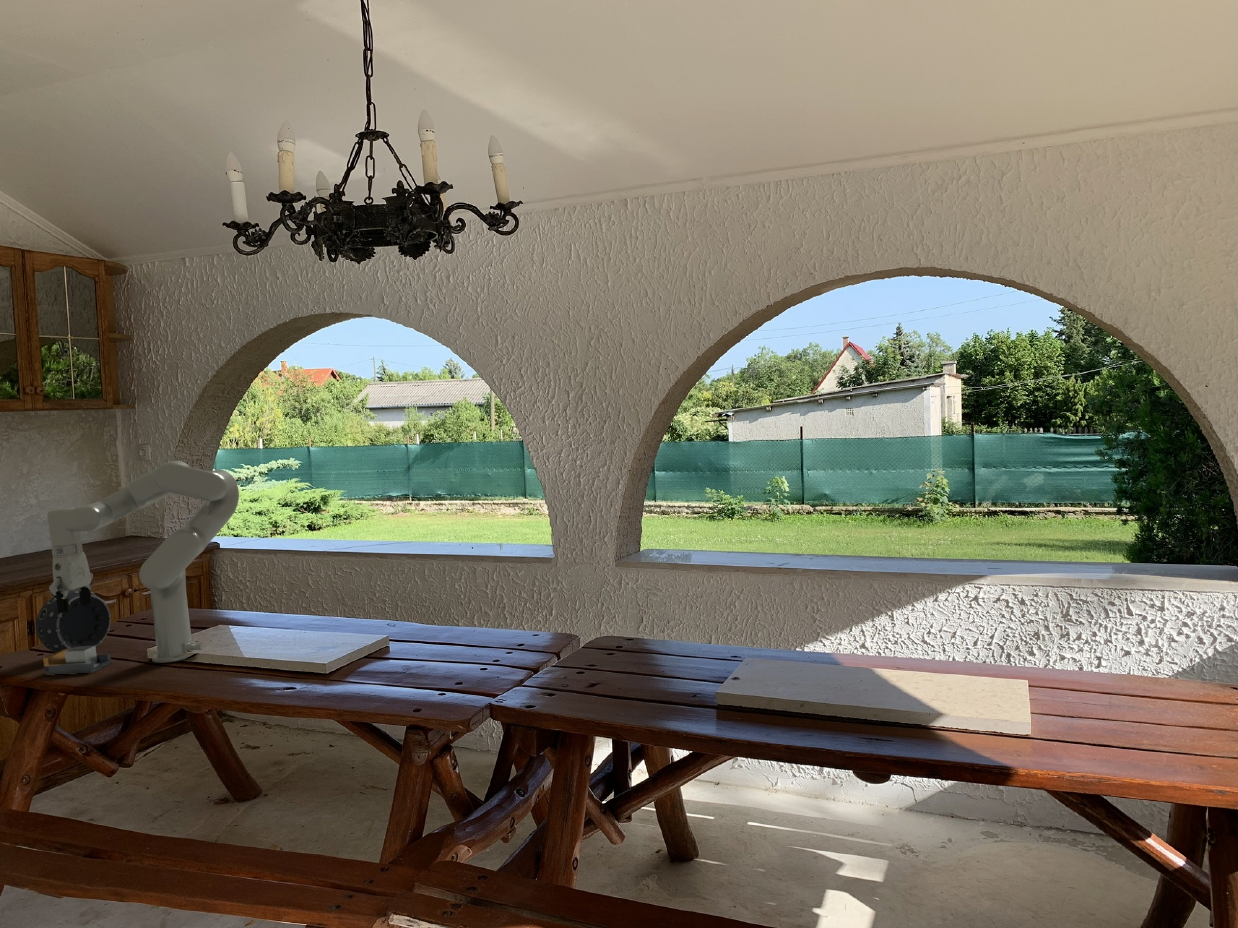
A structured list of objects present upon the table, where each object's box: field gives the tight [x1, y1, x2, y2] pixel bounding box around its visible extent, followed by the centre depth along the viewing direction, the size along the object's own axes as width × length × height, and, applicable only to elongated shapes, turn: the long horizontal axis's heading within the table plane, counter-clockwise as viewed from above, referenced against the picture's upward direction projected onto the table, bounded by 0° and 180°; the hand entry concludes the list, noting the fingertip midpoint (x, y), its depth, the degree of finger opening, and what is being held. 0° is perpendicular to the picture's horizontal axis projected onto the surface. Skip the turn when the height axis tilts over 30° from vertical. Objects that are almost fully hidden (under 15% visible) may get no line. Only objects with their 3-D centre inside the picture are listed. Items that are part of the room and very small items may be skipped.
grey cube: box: [65, 646, 98, 664], centre depth 262 cm, size 7×5×5 cm
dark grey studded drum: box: [35, 589, 112, 653], centre depth 281 cm, size 11×20×20 cm, turn 155°
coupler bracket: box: [42, 649, 112, 675], centre depth 262 cm, size 14×9×5 cm, turn 86°
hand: (75, 608), depth 261 cm, fingers open, 9 cm apart
